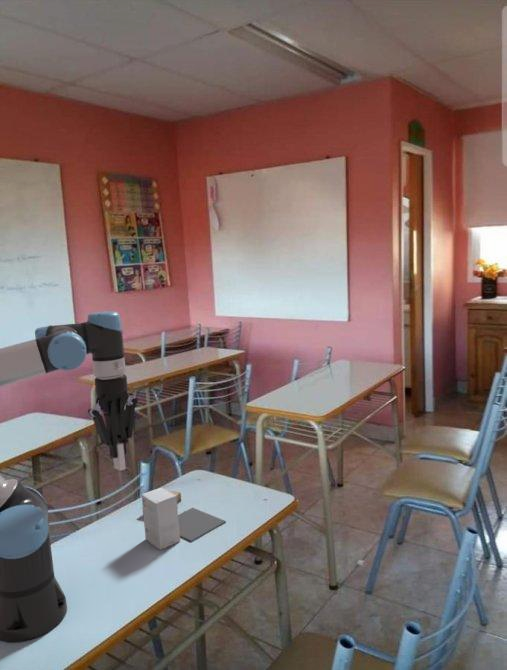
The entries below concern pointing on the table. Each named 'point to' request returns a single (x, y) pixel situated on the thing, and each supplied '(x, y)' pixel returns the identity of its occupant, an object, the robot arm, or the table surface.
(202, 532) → the mat
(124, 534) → the table surface
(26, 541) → the robot arm
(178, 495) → the board eraser
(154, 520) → the small box
